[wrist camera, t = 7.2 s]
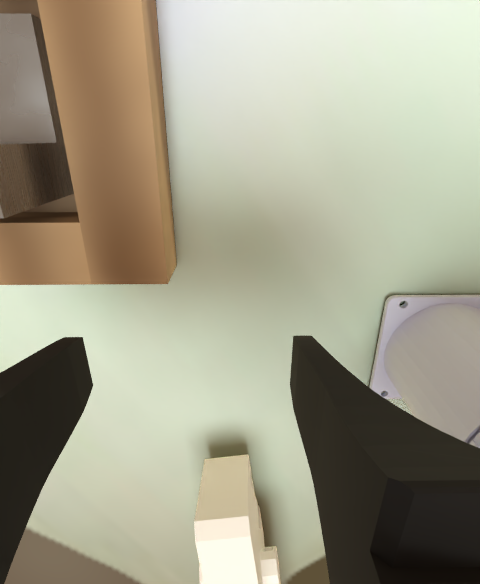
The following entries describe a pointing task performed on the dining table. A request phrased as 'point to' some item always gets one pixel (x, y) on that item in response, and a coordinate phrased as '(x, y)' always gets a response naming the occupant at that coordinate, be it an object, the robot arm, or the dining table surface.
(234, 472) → the shelf bracket
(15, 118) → the steel bracket
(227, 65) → the dining table surface
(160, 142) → the oak well block
